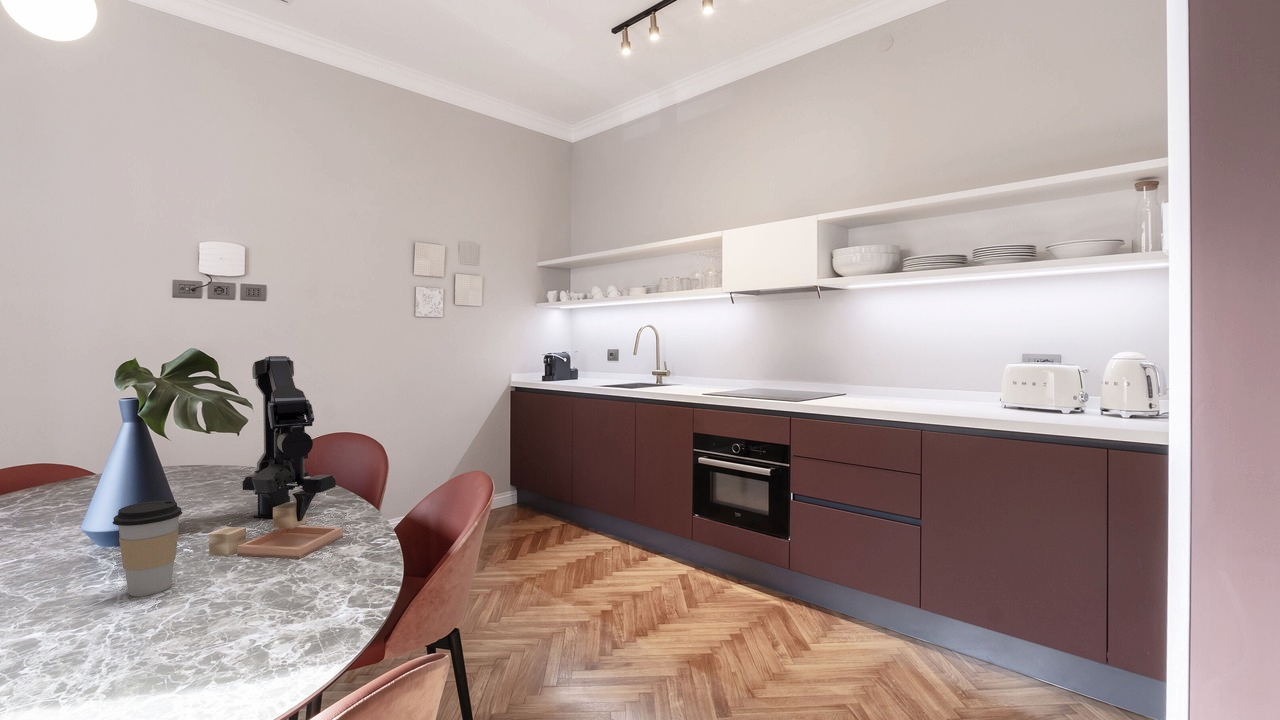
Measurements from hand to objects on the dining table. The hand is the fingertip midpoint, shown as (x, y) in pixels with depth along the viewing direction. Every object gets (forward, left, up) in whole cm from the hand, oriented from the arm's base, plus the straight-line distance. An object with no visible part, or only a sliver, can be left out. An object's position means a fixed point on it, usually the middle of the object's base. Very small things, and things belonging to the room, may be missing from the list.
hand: (289, 520), depth 128 cm
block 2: (0, 0, -1) cm, 1 cm away
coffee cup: (-6, -27, -5) cm, 28 cm away
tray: (+3, -3, -4) cm, 6 cm away
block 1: (-8, -8, -4) cm, 12 cm away
